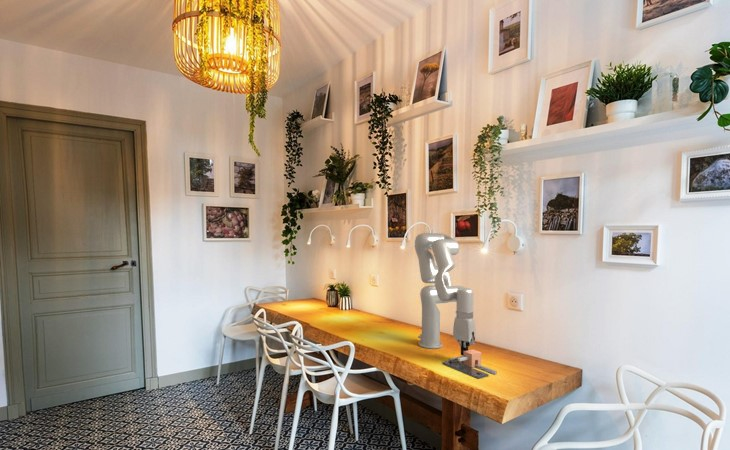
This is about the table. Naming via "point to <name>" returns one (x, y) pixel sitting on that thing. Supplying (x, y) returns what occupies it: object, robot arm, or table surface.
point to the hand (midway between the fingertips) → (464, 355)
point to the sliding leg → (470, 358)
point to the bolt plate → (466, 369)
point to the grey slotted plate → (475, 365)
